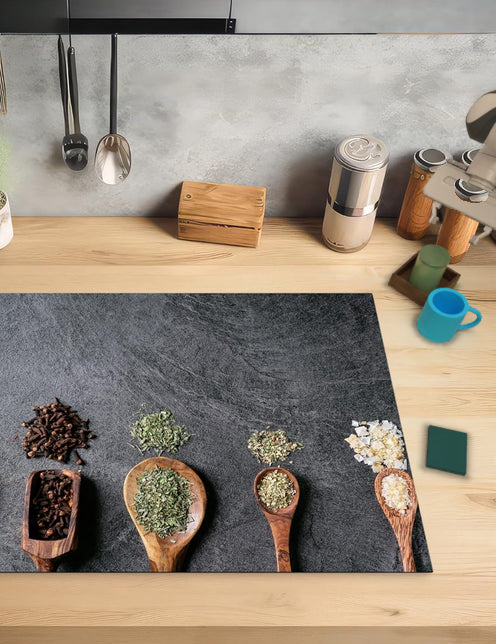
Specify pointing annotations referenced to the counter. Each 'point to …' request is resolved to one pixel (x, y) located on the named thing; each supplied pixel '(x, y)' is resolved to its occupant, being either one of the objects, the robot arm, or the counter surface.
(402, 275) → the tray
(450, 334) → the mug
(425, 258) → the green pot
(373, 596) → the counter surface
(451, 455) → the mat
